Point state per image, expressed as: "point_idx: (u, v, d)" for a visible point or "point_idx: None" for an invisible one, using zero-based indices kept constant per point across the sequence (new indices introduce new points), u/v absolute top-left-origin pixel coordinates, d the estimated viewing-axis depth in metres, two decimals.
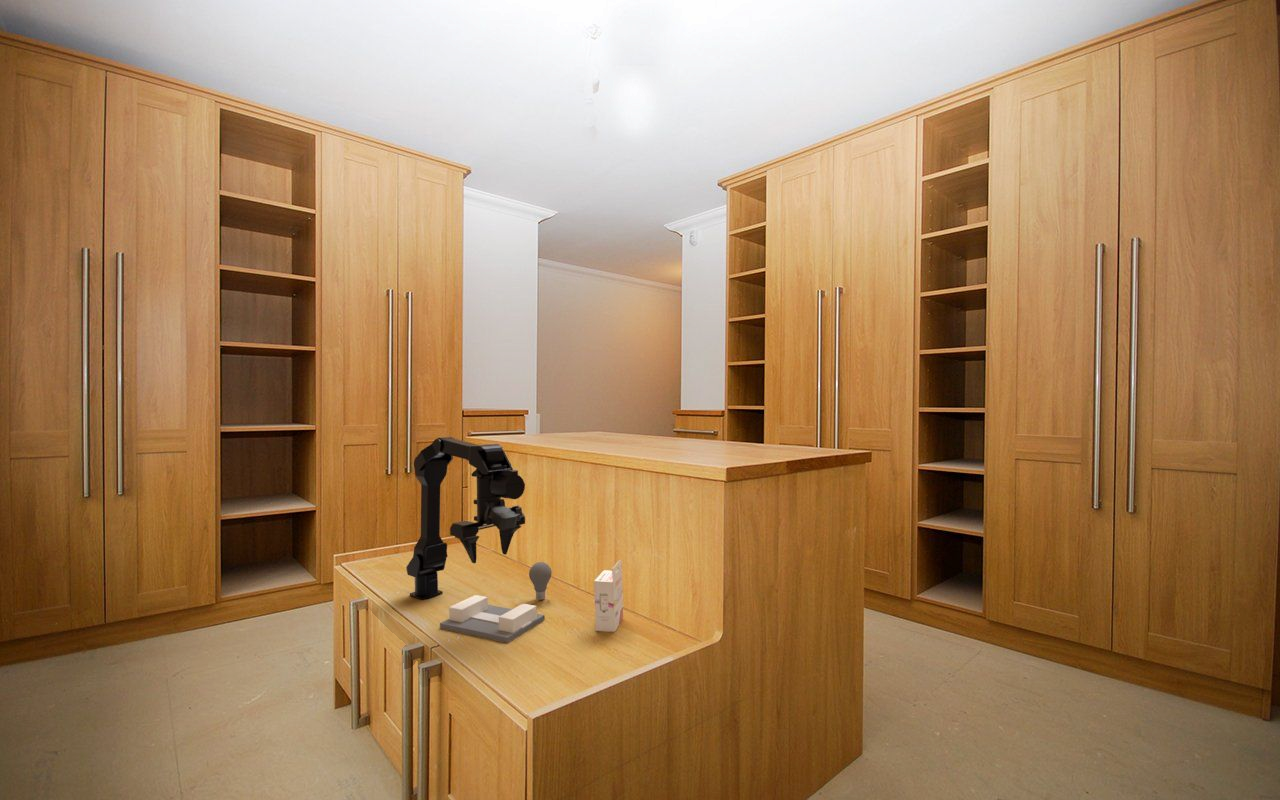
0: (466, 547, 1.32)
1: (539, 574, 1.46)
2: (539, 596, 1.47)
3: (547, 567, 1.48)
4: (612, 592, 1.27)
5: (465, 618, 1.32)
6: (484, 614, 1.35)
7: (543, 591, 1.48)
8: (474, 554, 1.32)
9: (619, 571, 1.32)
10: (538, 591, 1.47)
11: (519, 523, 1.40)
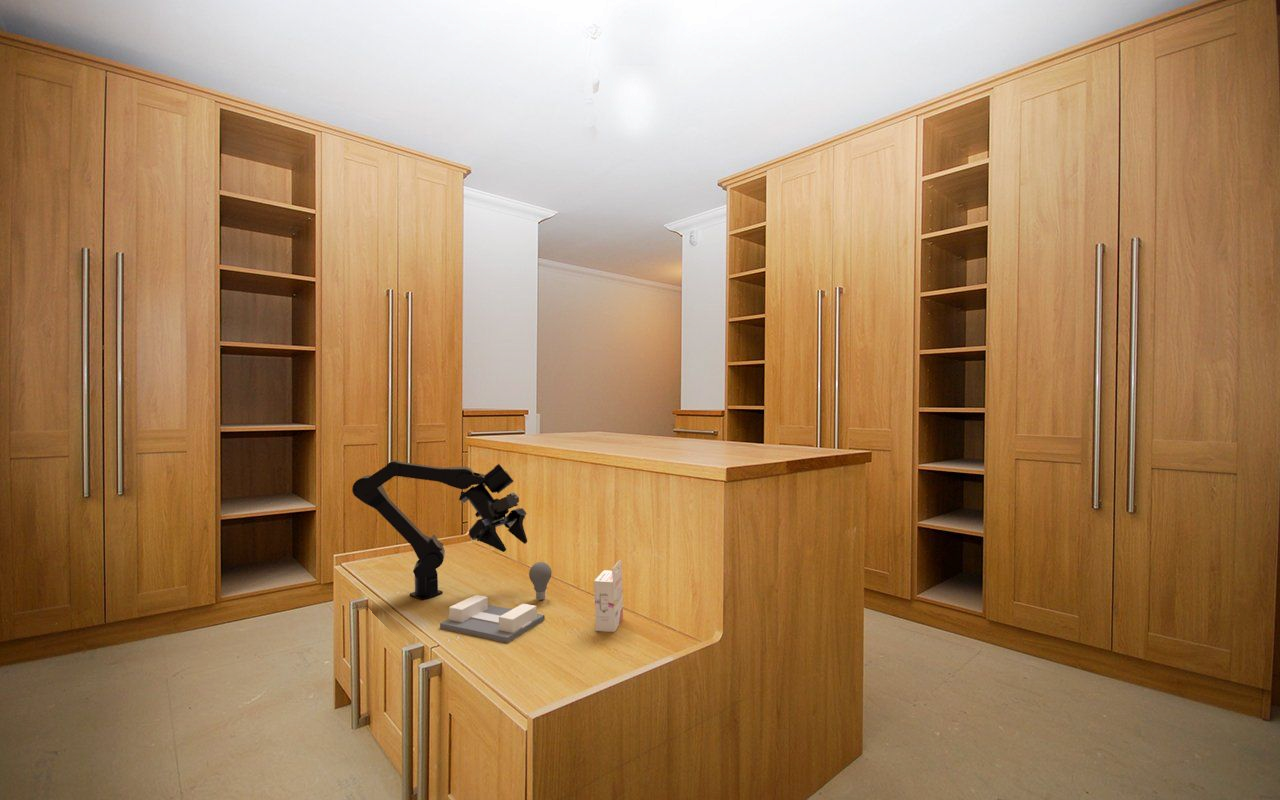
0: (491, 543, 1.48)
1: (539, 574, 1.46)
2: (539, 596, 1.47)
3: (547, 567, 1.48)
4: (612, 592, 1.27)
5: (465, 618, 1.32)
6: (484, 614, 1.35)
7: (543, 591, 1.48)
8: (501, 542, 1.48)
9: (619, 571, 1.32)
10: (538, 591, 1.47)
11: (521, 513, 1.60)
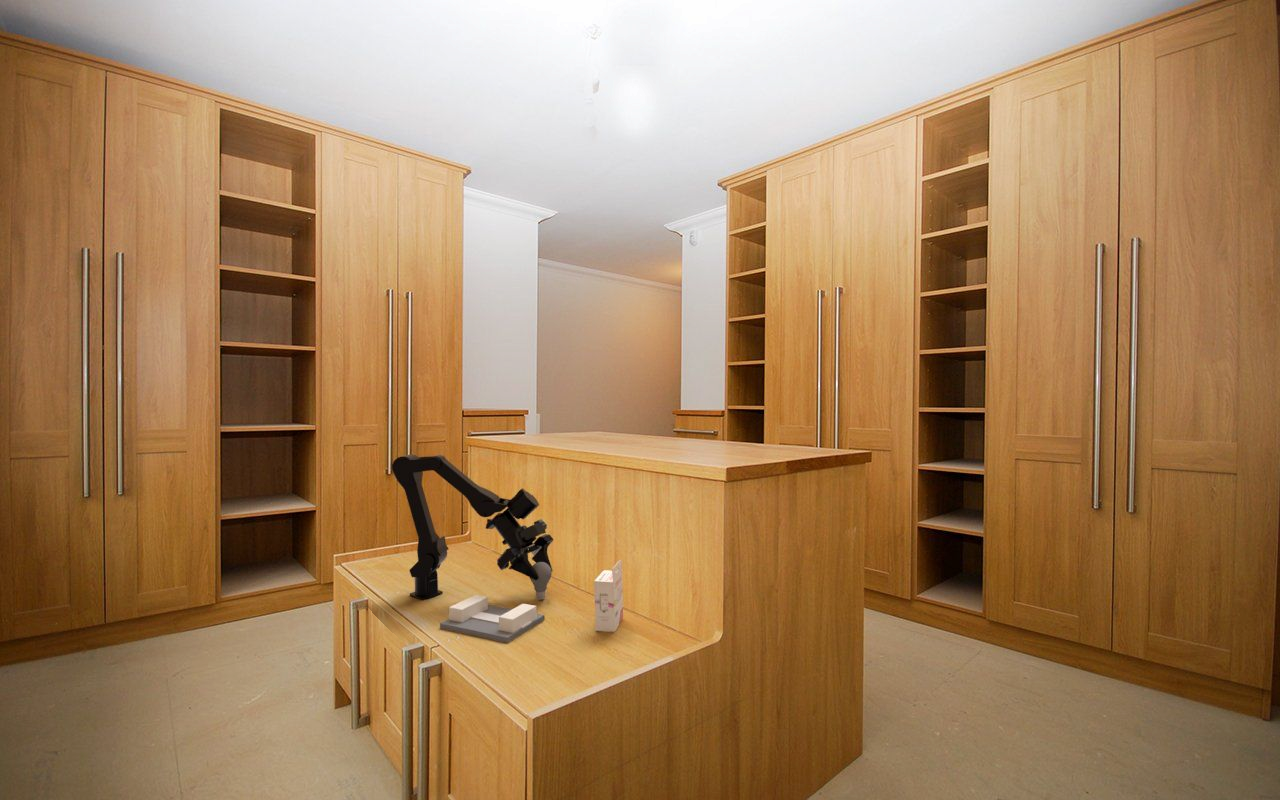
0: (523, 571, 1.46)
1: (539, 574, 1.46)
2: (539, 596, 1.47)
3: (547, 567, 1.48)
4: (612, 592, 1.27)
5: (465, 618, 1.32)
6: (484, 614, 1.35)
7: (543, 591, 1.48)
8: (533, 570, 1.45)
9: (619, 571, 1.32)
10: (538, 591, 1.47)
11: (549, 539, 1.56)
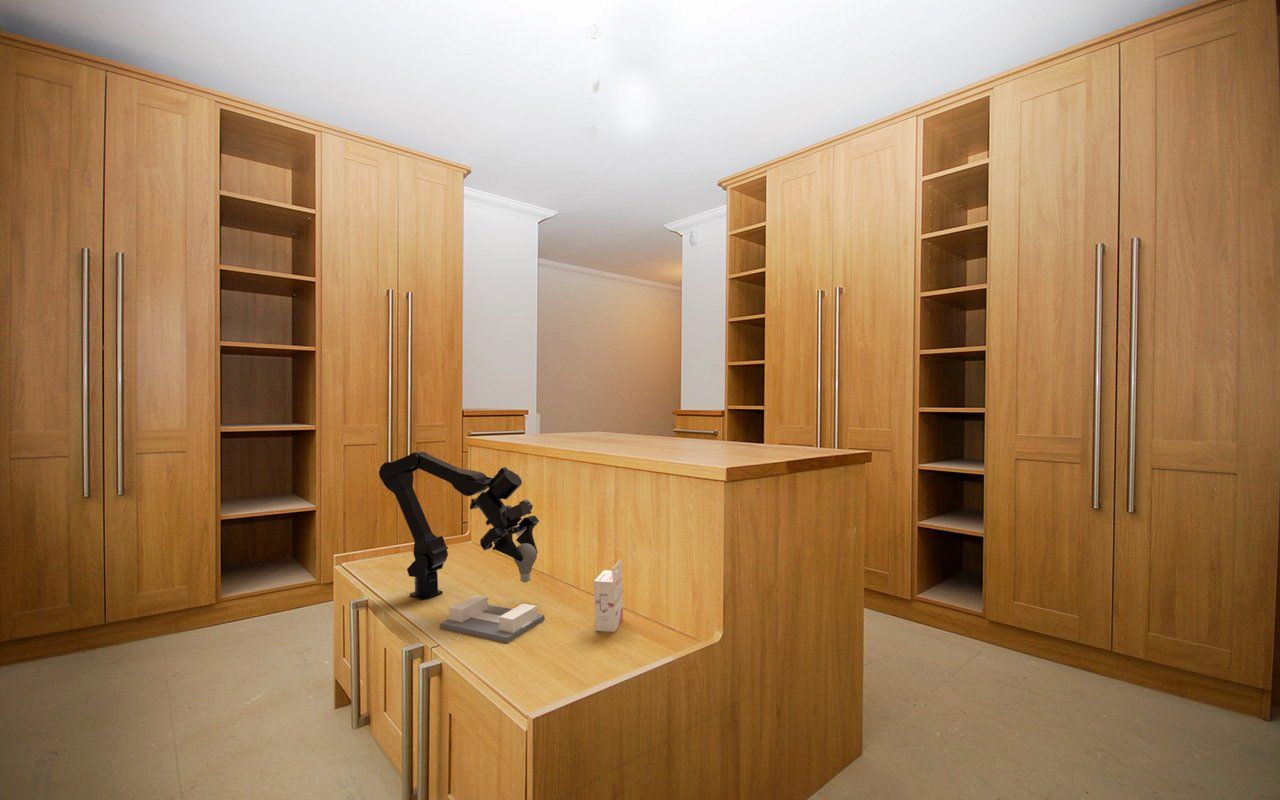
0: (507, 552, 1.40)
1: (524, 556, 1.41)
2: (524, 578, 1.43)
3: (532, 549, 1.43)
4: (612, 592, 1.27)
5: (465, 618, 1.32)
6: (484, 614, 1.35)
7: (528, 573, 1.43)
8: (518, 551, 1.40)
9: (619, 571, 1.32)
10: (523, 573, 1.42)
11: (534, 521, 1.51)
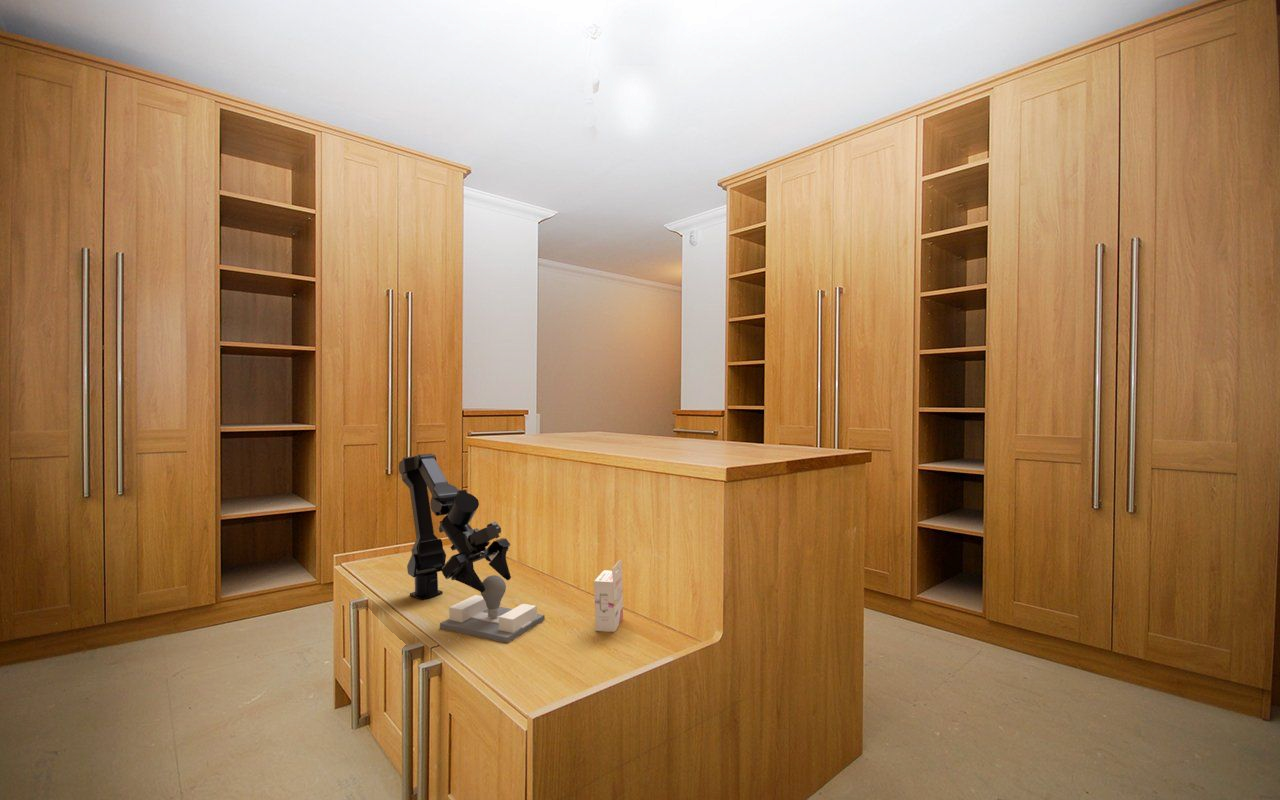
0: (468, 582, 1.28)
1: (490, 589, 1.30)
2: (491, 614, 1.32)
3: (500, 581, 1.32)
4: (612, 592, 1.27)
5: (465, 618, 1.32)
6: (484, 614, 1.35)
7: (496, 608, 1.32)
8: (479, 581, 1.28)
9: (619, 571, 1.32)
10: (490, 608, 1.31)
11: (504, 544, 1.40)
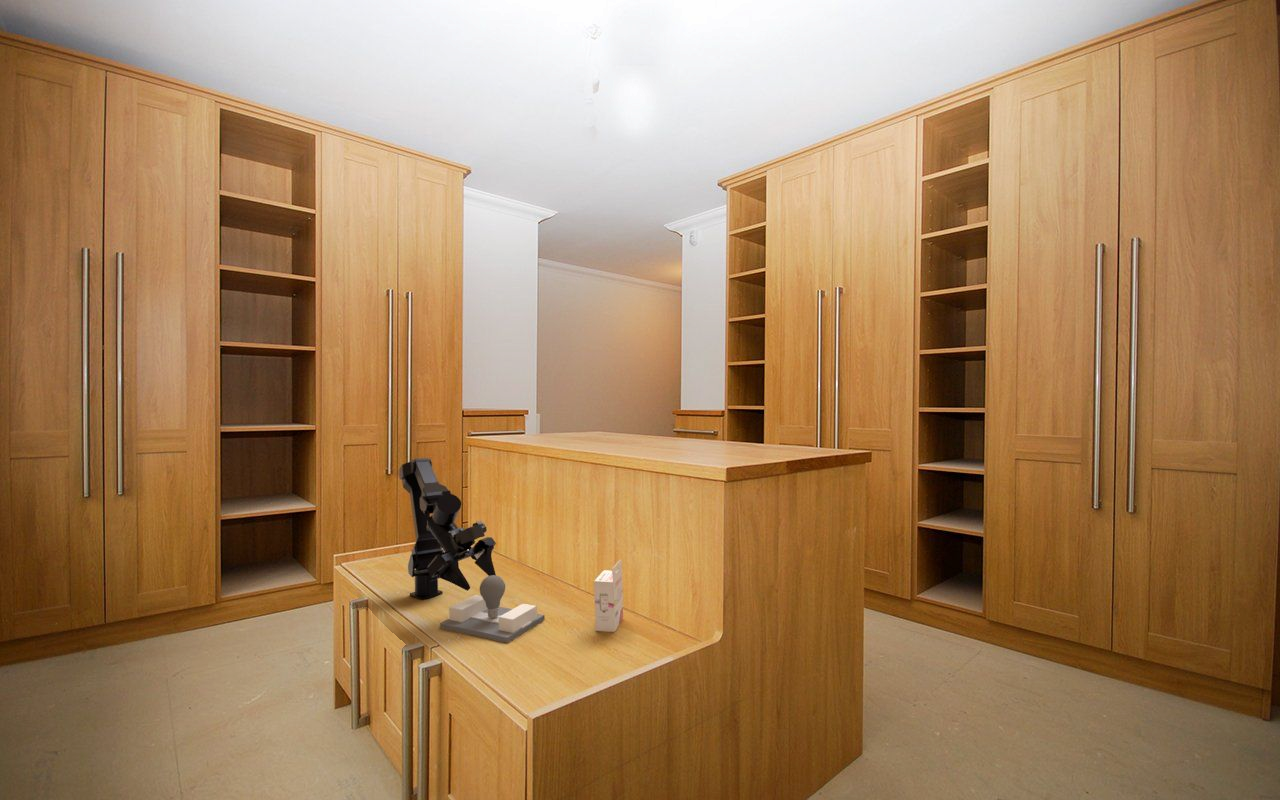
0: (453, 580, 1.30)
1: (490, 589, 1.30)
2: (491, 614, 1.32)
3: (499, 581, 1.32)
4: (612, 592, 1.27)
5: (465, 618, 1.32)
6: (484, 614, 1.35)
7: (495, 608, 1.32)
8: (464, 579, 1.30)
9: (619, 571, 1.32)
10: (490, 608, 1.31)
11: (490, 543, 1.42)
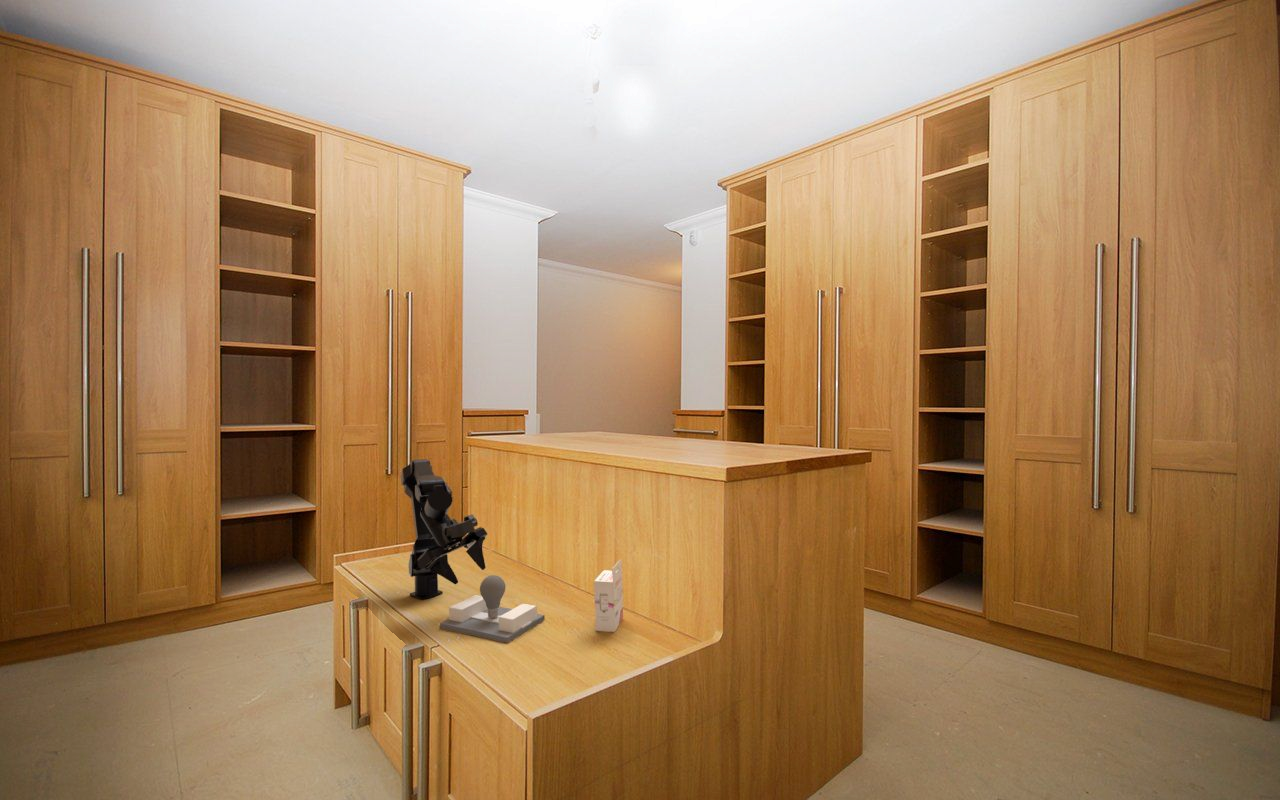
0: (442, 573, 1.34)
1: (490, 589, 1.30)
2: (491, 614, 1.32)
3: (500, 581, 1.32)
4: (612, 592, 1.27)
5: (465, 618, 1.32)
6: (484, 614, 1.35)
7: (495, 608, 1.32)
8: (452, 574, 1.34)
9: (619, 571, 1.32)
10: (490, 608, 1.31)
11: (481, 534, 1.44)
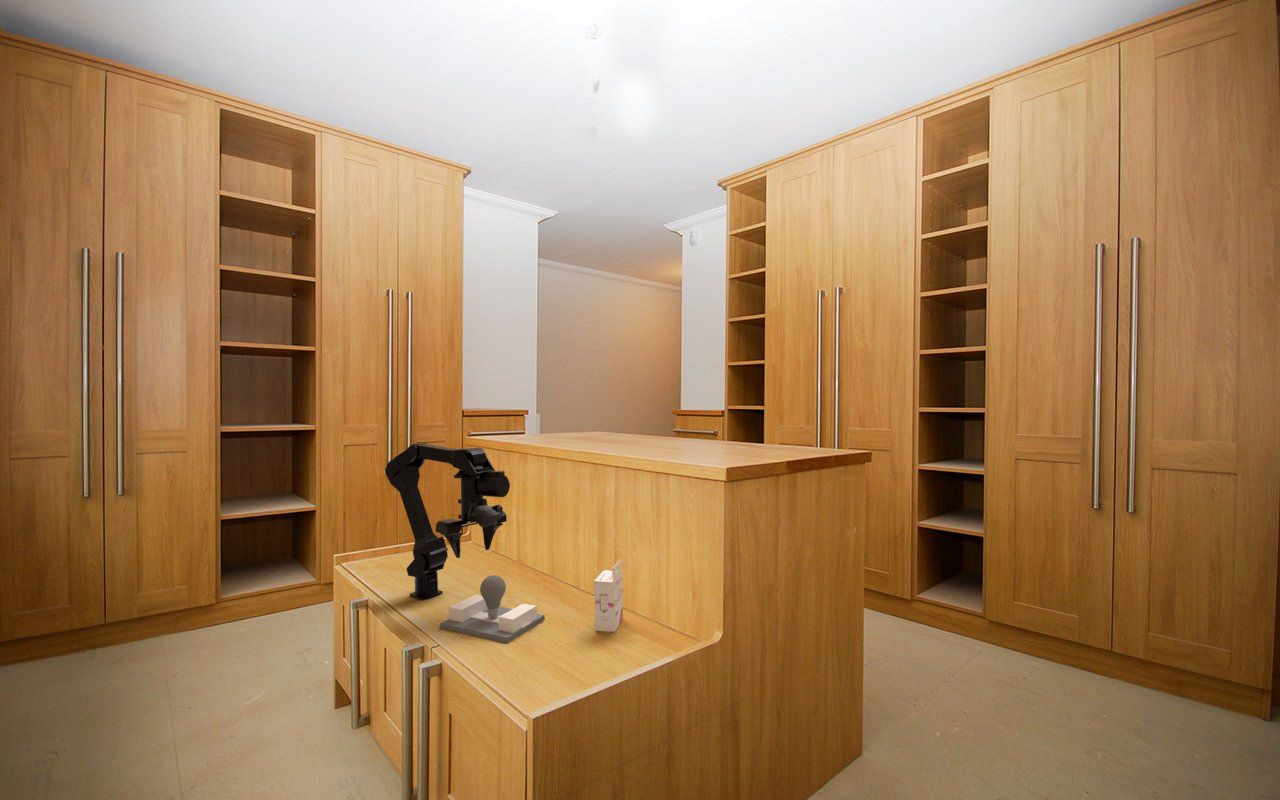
0: (451, 543, 1.43)
1: (490, 589, 1.30)
2: (491, 614, 1.32)
3: (500, 581, 1.32)
4: (612, 592, 1.27)
5: (465, 618, 1.32)
6: (484, 614, 1.35)
7: (496, 608, 1.32)
8: (458, 550, 1.42)
9: (619, 571, 1.32)
10: (490, 608, 1.31)
11: (501, 521, 1.51)
